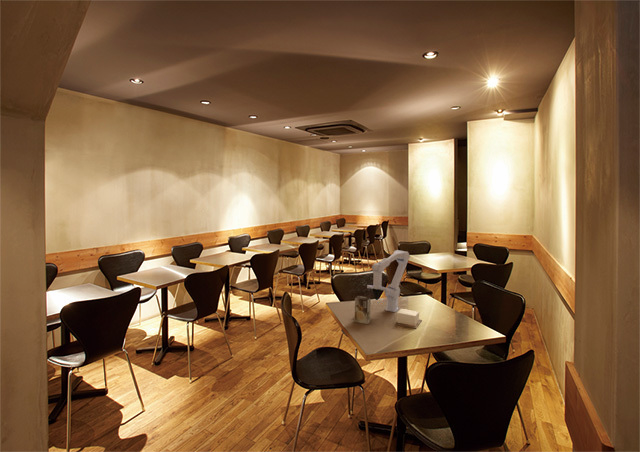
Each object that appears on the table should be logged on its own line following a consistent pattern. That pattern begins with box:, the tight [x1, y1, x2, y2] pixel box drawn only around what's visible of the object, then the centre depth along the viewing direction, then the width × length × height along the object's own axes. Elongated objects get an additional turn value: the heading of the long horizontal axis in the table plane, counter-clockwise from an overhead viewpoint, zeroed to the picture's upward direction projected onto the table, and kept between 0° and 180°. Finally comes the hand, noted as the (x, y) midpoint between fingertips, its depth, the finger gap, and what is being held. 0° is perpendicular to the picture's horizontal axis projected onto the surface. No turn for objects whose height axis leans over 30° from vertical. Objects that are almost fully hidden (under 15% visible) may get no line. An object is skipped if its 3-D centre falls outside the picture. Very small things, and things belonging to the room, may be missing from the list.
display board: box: [397, 319, 423, 330], centre depth 218 cm, size 16×12×1 cm
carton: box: [396, 308, 420, 326], centre depth 218 cm, size 9×6×12 cm
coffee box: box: [354, 295, 372, 325], centre depth 219 cm, size 9×6×16 cm
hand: (376, 299), depth 233 cm, fingers closed
